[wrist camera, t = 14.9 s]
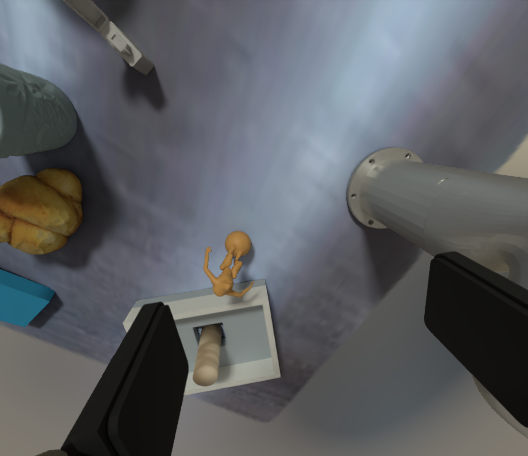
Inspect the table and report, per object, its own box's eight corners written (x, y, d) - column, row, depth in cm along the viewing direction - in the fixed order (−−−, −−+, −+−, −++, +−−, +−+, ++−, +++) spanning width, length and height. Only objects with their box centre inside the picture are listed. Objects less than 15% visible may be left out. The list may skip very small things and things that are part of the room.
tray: (264, 278, 43) (268, 298, 38) (276, 352, 50) (280, 377, 44) (136, 300, 43) (122, 323, 37) (164, 372, 49) (156, 400, 44)
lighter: (154, 65, 31) (128, 43, 24) (145, 76, 32) (116, 57, 24) (105, 11, 29) (59, -32, 22) (96, 23, 29) (47, -15, 22)
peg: (219, 318, 46) (214, 366, 36) (223, 334, 47) (219, 383, 37) (200, 322, 45) (189, 370, 36) (204, 337, 47) (195, 388, 37)
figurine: (265, 246, 41) (274, 288, 30) (239, 270, 42) (240, 319, 31) (227, 213, 39) (222, 245, 28) (201, 239, 40) (186, 281, 29)
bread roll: (58, 150, 34) (7, 154, 26) (115, 205, 37) (84, 223, 29) (-5, 206, 35) (-69, 226, 28) (55, 255, 39) (11, 283, 31)
